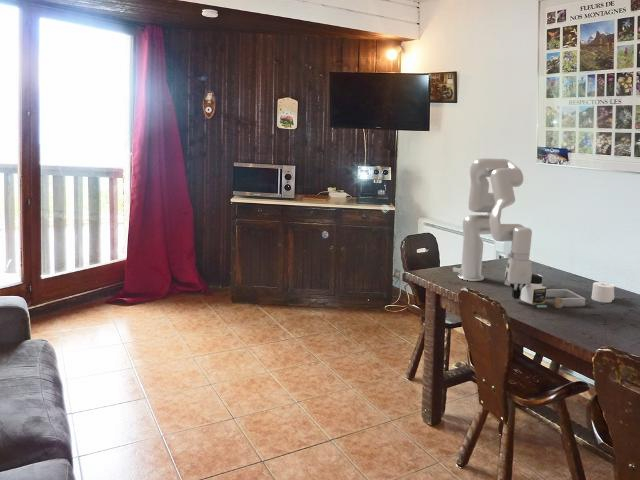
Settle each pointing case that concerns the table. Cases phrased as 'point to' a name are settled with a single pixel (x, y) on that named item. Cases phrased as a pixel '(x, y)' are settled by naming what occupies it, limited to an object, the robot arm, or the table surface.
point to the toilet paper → (602, 292)
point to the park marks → (540, 305)
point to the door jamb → (558, 302)
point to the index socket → (570, 296)
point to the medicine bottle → (534, 291)
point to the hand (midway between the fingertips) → (515, 298)
